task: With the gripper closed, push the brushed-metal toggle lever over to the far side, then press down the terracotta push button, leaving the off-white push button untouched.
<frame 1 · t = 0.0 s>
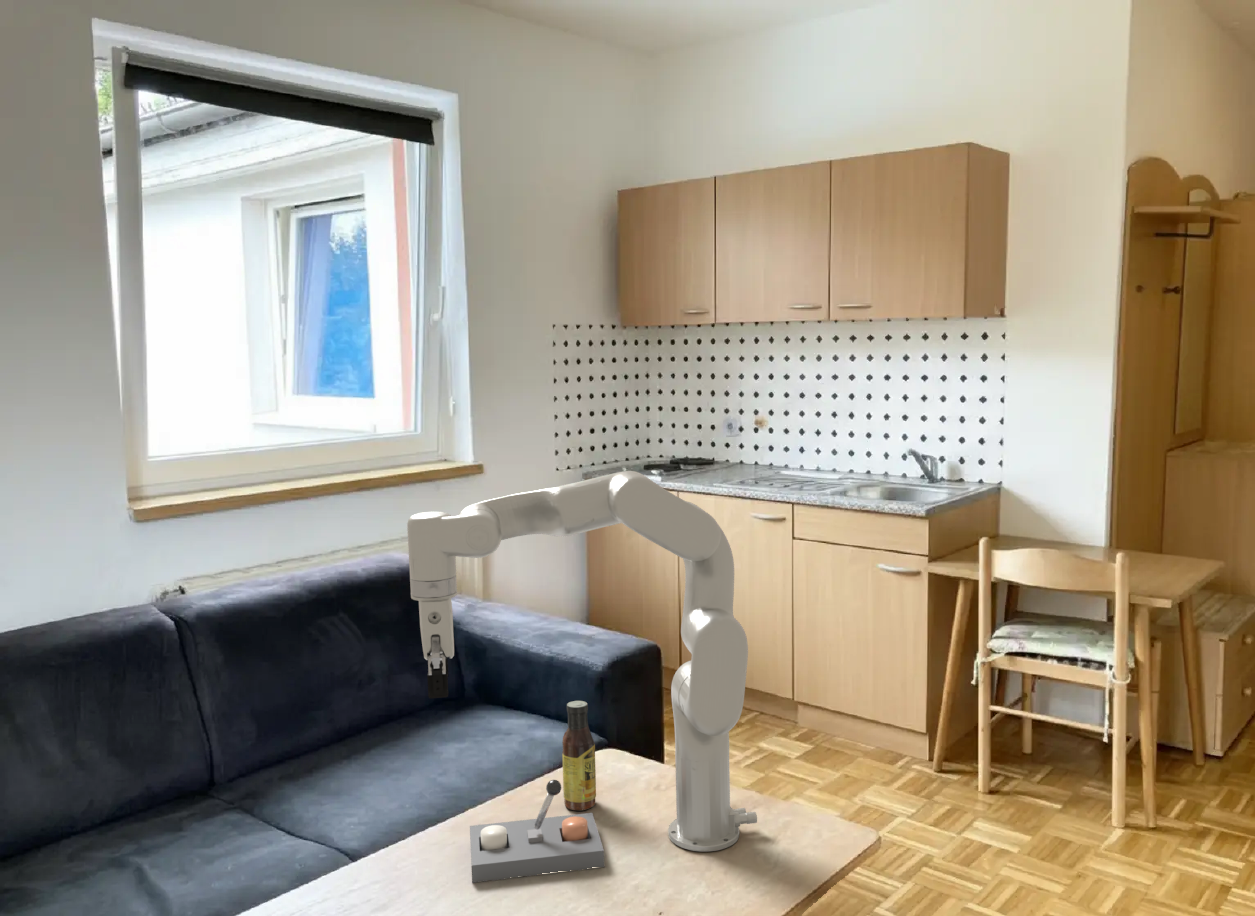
hand: (438, 687, 168), 31 cm above the table, tool pointing down, fingers open, 9 cm apart
terracotta button: (575, 832, 175), point 3 cm above the table, slide at 0.0 cm
sauce bottle: (580, 805, 192), on the table
control panel: (535, 854, 174), on the table
offwhite button: (494, 840, 172), point 3 cm above the table, slide at 0.0 cm
toggle lever: (550, 795, 173), point 10 cm above the table, hinge at -25.0°
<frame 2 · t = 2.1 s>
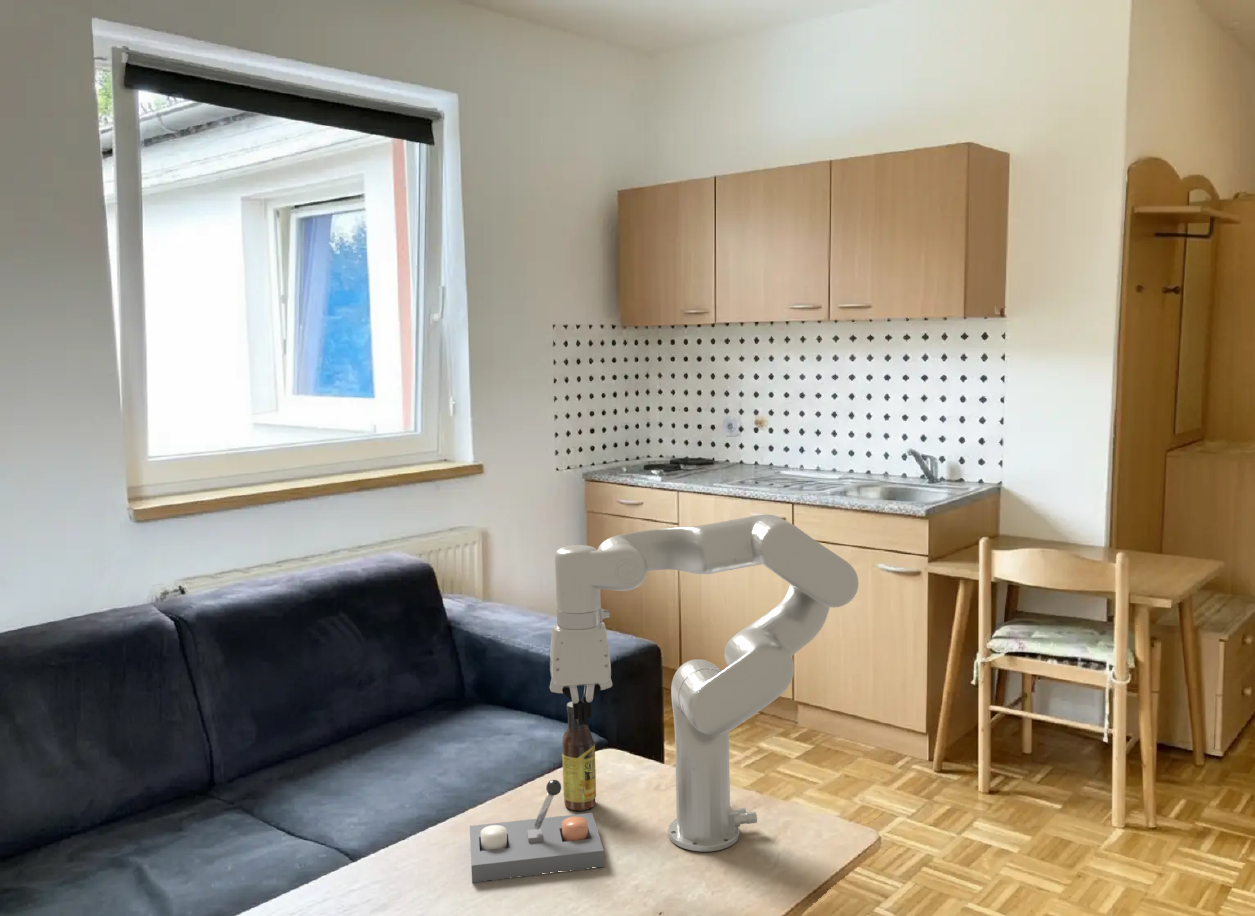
hand: (582, 722, 173), 23 cm above the table, tool pointing down, fingers closed
nothing on the table moved.
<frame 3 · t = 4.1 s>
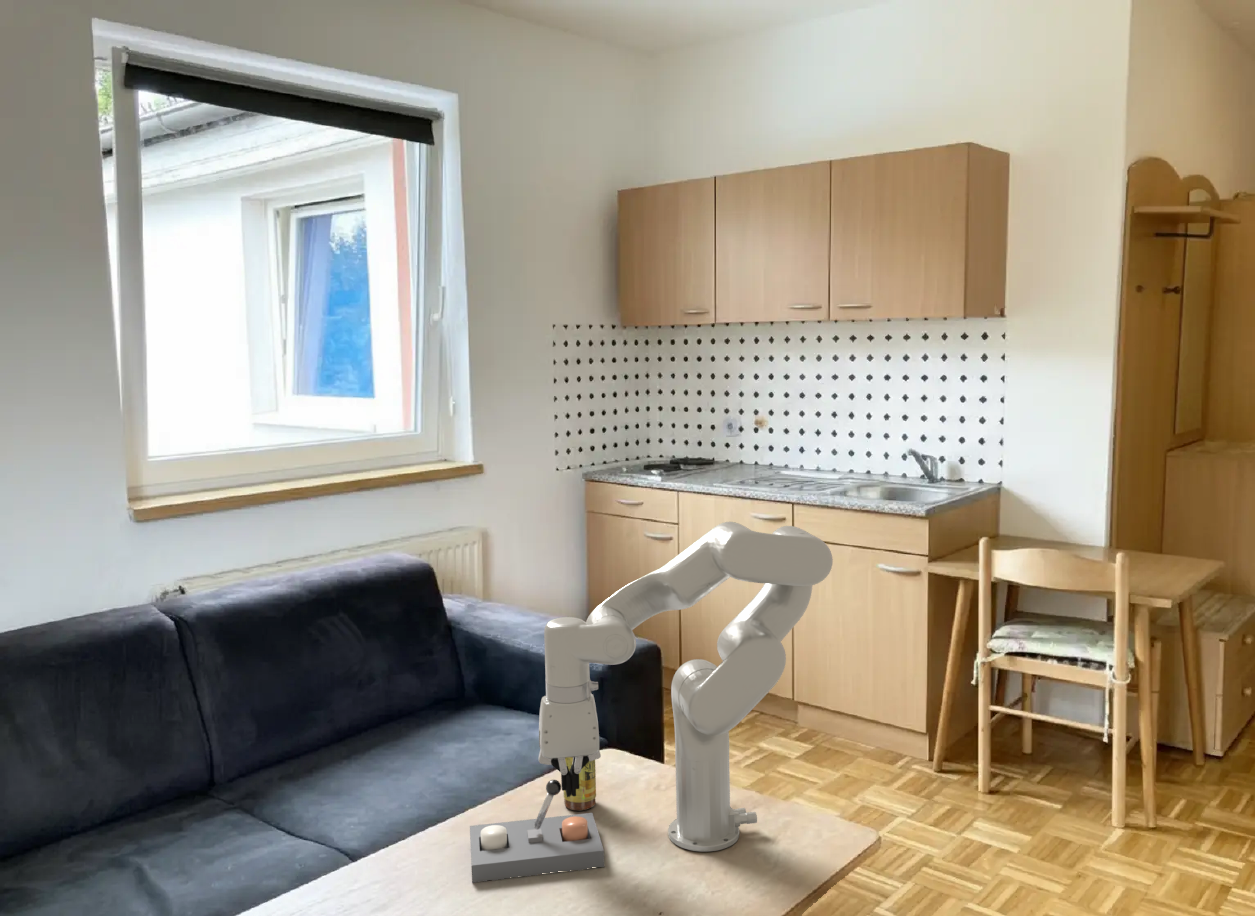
hand: (570, 793, 174), 10 cm above the table, tool pointing down, fingers closed
toggle lever: (550, 795, 173), point 10 cm above the table, hinge at -24.7°, touching gripper
everything else where it was.
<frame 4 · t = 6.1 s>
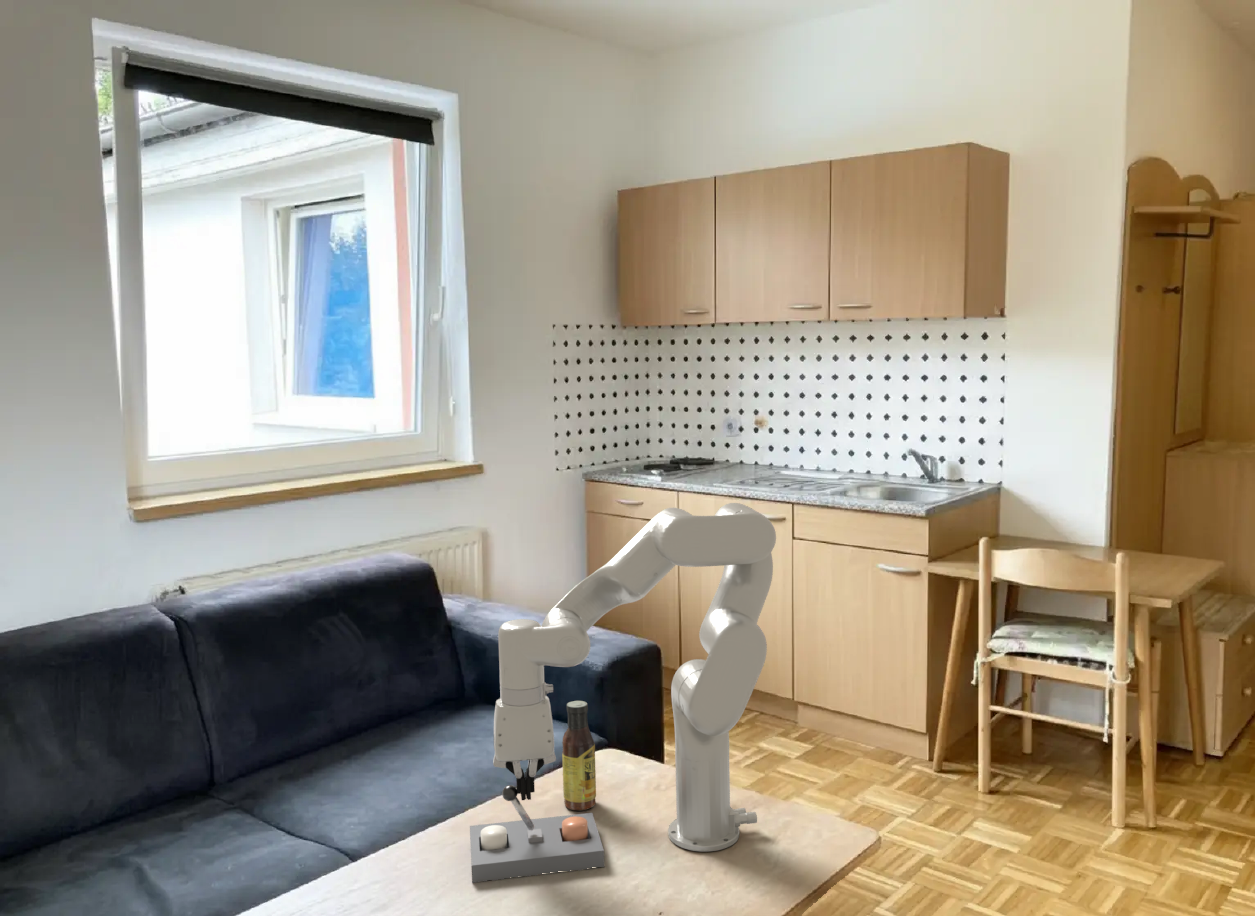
hand: (525, 796, 172), 11 cm above the table, tool pointing down, fingers closed
toggle lever: (514, 800, 172), point 10 cm above the table, hinge at 27.8°, touching gripper
everything else where it was.
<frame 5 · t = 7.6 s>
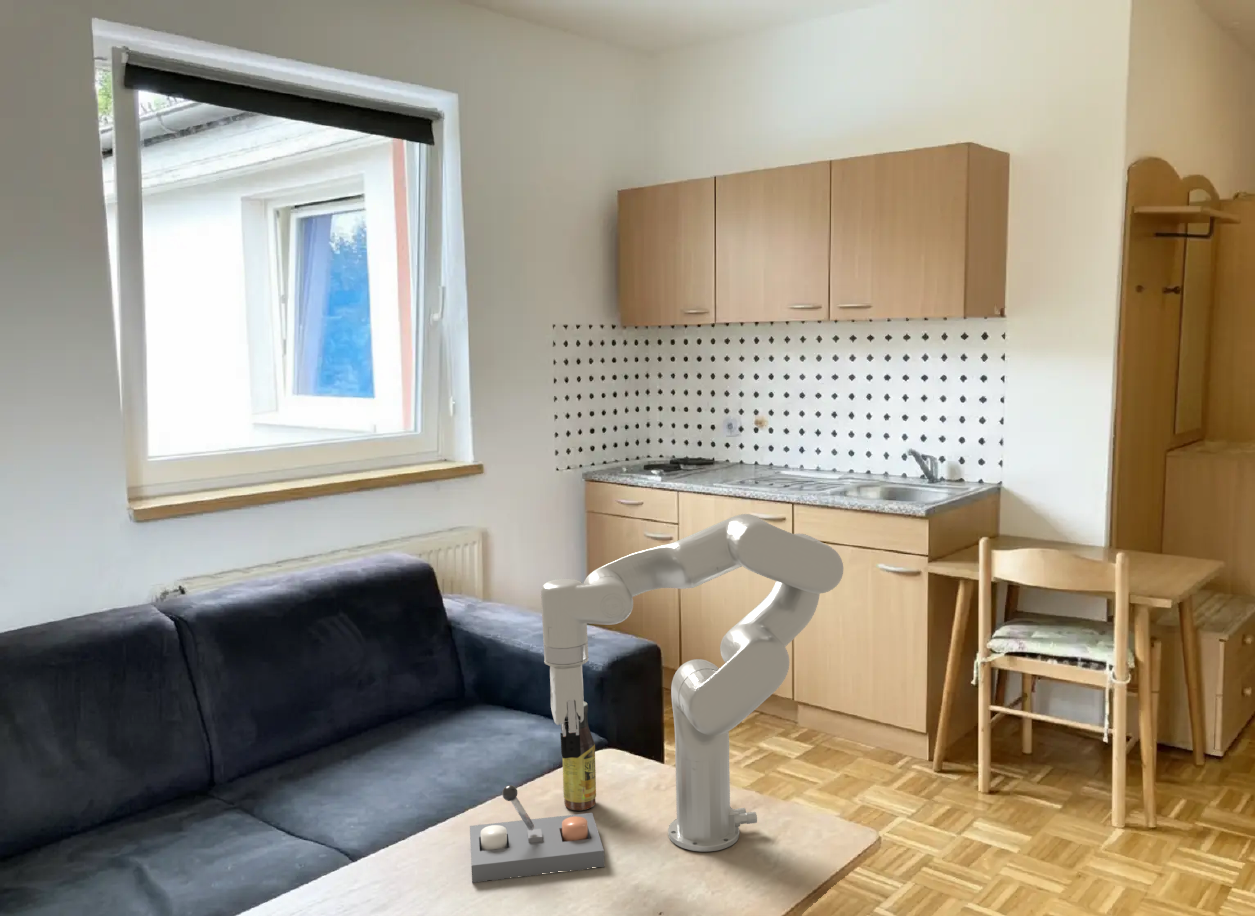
hand: (571, 755, 173), 17 cm above the table, tool pointing down, fingers closed
toggle lever: (514, 800, 172), point 10 cm above the table, hinge at 27.8°
everything else where it was.
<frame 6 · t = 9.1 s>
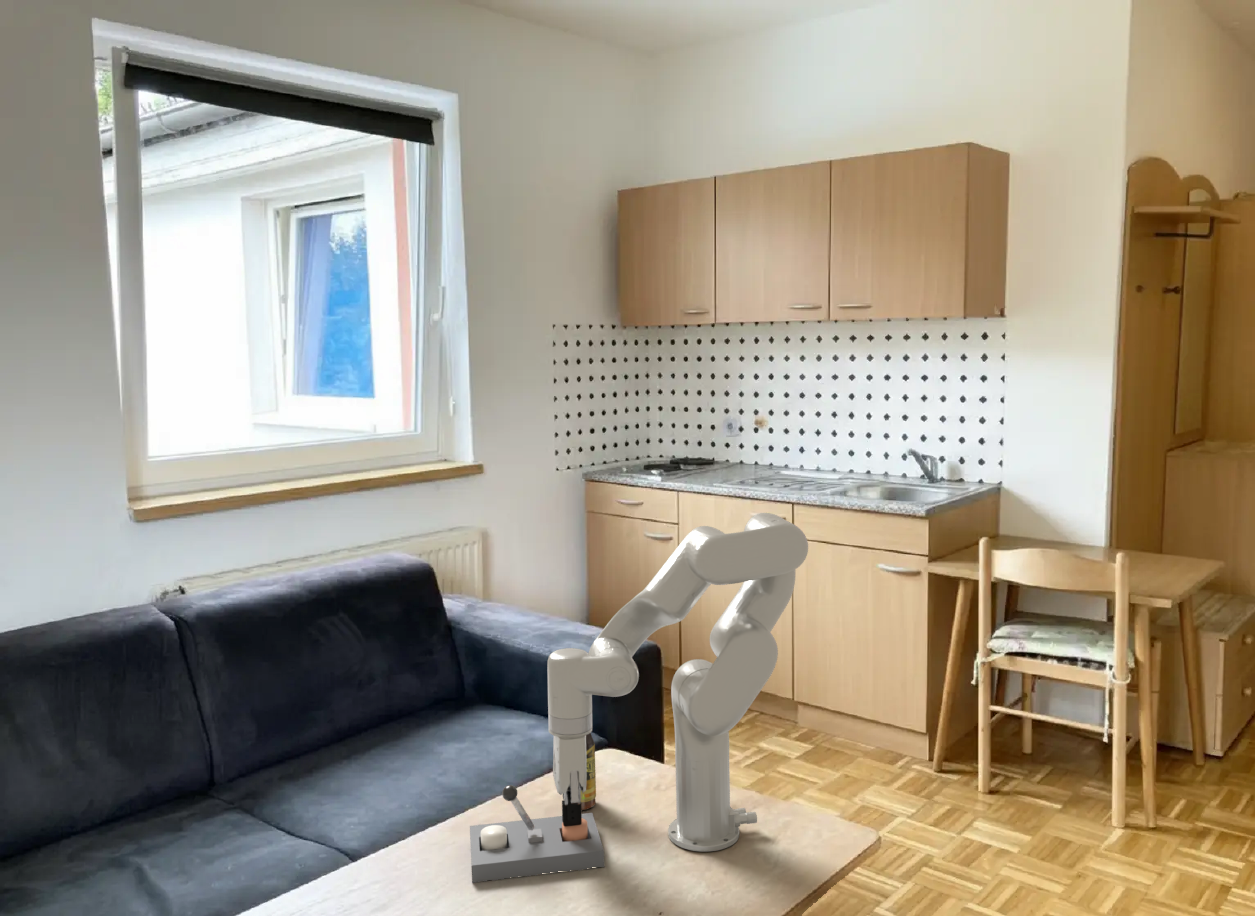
hand: (571, 823, 174), 5 cm above the table, tool pointing down, fingers closed
terracotta button: (575, 833, 175), point 3 cm above the table, slide at 0.2 cm, touching gripper
everything else where it was.
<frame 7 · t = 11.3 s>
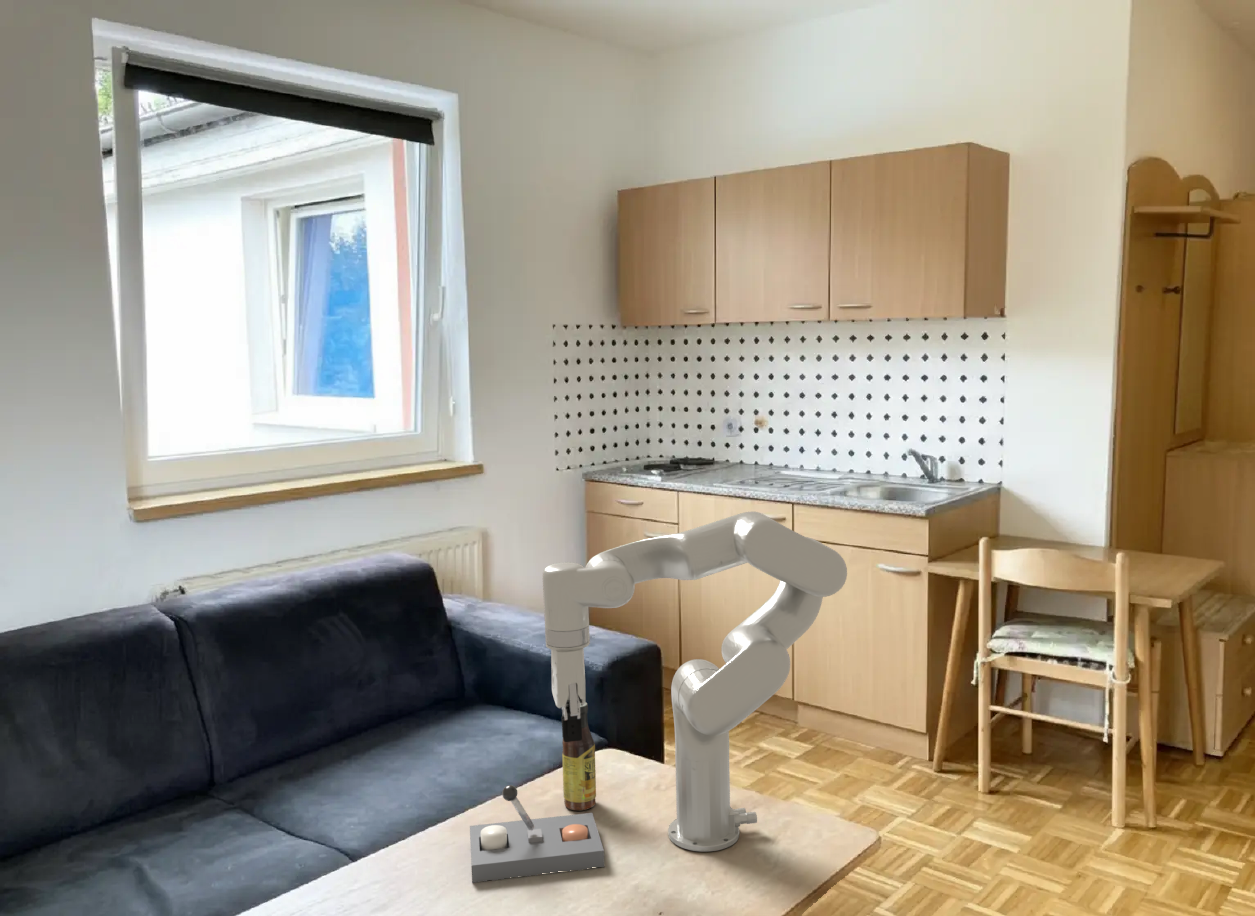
hand: (572, 739, 173), 20 cm above the table, tool pointing down, fingers closed
terracotta button: (575, 839, 175), point 2 cm above the table, slide at 1.4 cm
everything else where it was.
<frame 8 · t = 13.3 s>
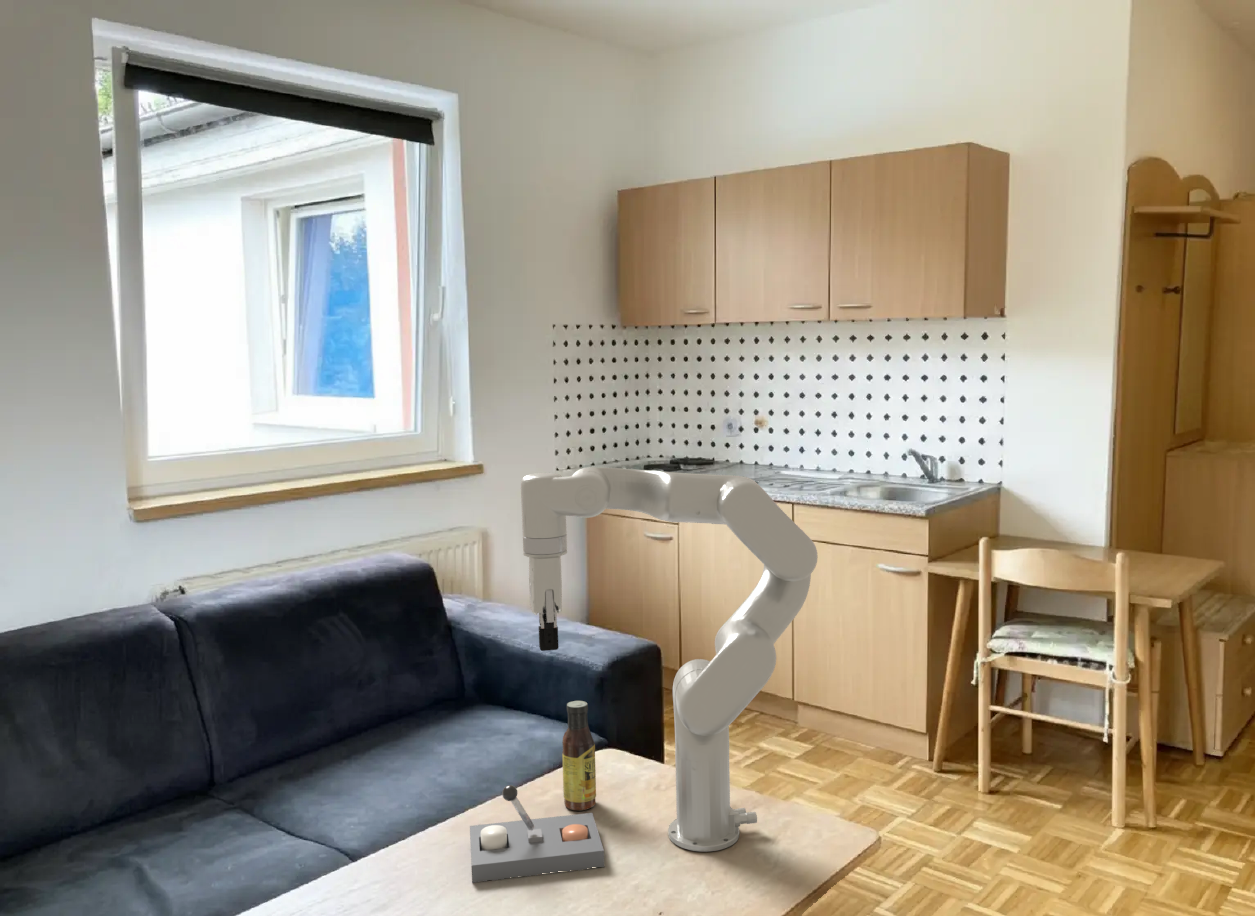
hand: (548, 648, 174), 35 cm above the table, tool pointing down, fingers closed
nothing on the table moved.
at the end: toggle lever at +28° (first picture: -25°); terracotta button slide at 1.4 cm; offwhite button slide at 0.0 cm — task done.
